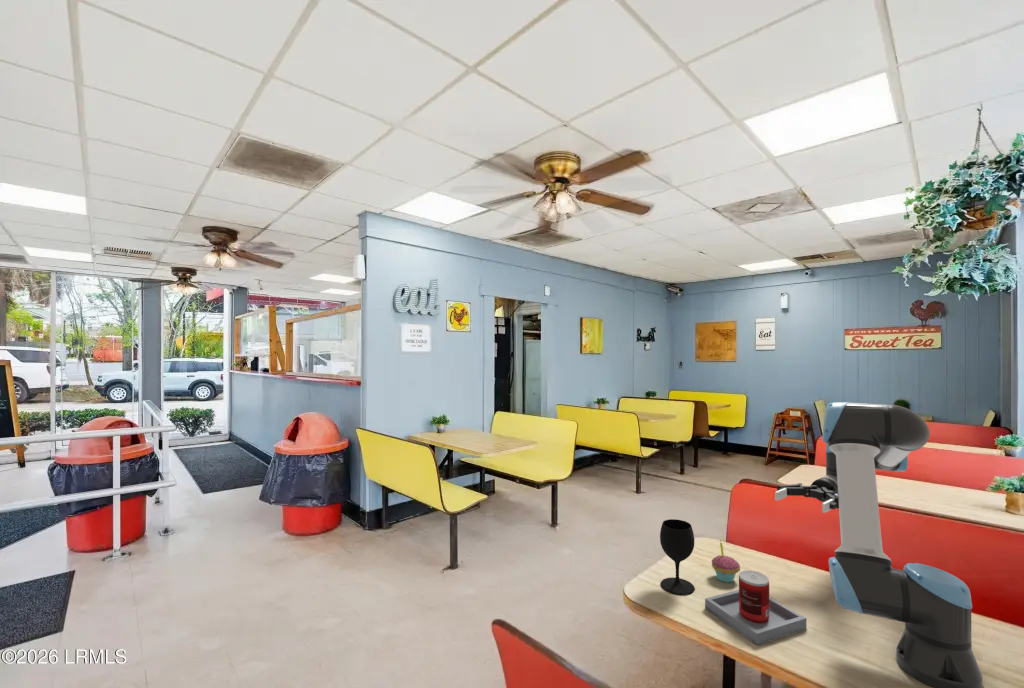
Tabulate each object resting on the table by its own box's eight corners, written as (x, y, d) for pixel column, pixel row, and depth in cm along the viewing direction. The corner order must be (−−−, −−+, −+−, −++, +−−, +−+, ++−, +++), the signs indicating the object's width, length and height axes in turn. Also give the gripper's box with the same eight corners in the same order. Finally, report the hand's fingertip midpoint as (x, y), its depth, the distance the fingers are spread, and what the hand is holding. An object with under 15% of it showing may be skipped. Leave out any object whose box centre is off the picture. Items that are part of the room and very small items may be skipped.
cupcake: (706, 575, 158) (705, 539, 158) (724, 570, 161) (724, 535, 161) (727, 587, 150) (727, 550, 150) (746, 581, 153) (745, 545, 153)
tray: (806, 629, 128) (806, 618, 128) (756, 645, 122) (756, 633, 122) (751, 596, 145) (751, 586, 145) (705, 608, 138) (705, 598, 138)
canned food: (762, 608, 137) (761, 570, 137) (774, 624, 129) (774, 584, 129) (734, 607, 138) (734, 569, 138) (745, 623, 130) (745, 583, 130)
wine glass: (697, 583, 153) (696, 521, 153) (691, 598, 144) (691, 533, 144) (664, 575, 158) (663, 516, 158) (657, 590, 149) (656, 526, 149)
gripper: (872, 510, 149) (845, 526, 137) (788, 490, 169) (758, 503, 157) (871, 486, 149) (845, 500, 137) (788, 469, 169) (758, 480, 157)
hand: (798, 502), depth 147 cm, fingers open, 13 cm apart
